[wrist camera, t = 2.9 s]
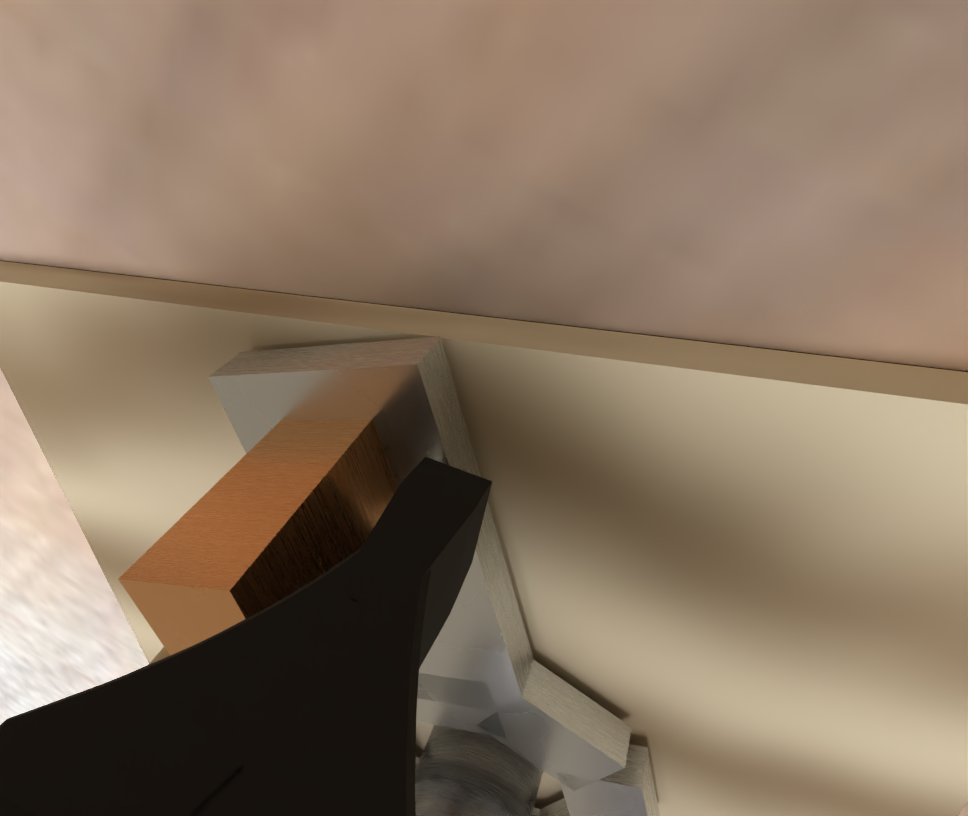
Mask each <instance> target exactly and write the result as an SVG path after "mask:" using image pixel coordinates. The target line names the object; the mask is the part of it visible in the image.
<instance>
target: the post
mask: <svg viewBox="0 0 968 816" xmlns="http://www.w3.org/2000/svg"><path fill="white" fill-rule="evenodd" d="M542 774H543V770H541V769H540V768H538V767H537V766H535V765H534V764H533V763H531V762H530V761H528V760H527V759H525V758H524V757H522V756H521V755H519V754H518V753H516V752H515V751H513V750H512V749H510V748H509V747H507V746H506V745H504V744H503V743H501V742H500V741H499V740H497V739H496V738H494V737H493V736H491V735H489V734H483V733H477V732H472V731H466V730H461V729H455V728H450V727H444V726H439V725H434V727H433V729H432V731H431V734H430V736H429V739H428V741H427V743H426V746H425V748H424V751H423V753H422V755H421V758H420V760H419V763H418V765H417V768H416V770H415V810H416V816H532V812H533V809H534V805H535V801H536V797H537V793H538V789H539V785H540V781H541V777H542Z"/></svg>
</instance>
